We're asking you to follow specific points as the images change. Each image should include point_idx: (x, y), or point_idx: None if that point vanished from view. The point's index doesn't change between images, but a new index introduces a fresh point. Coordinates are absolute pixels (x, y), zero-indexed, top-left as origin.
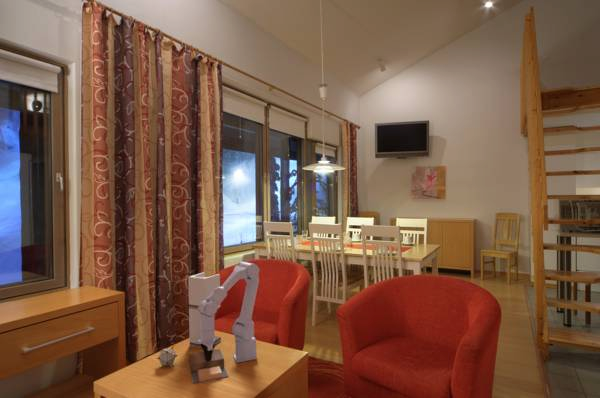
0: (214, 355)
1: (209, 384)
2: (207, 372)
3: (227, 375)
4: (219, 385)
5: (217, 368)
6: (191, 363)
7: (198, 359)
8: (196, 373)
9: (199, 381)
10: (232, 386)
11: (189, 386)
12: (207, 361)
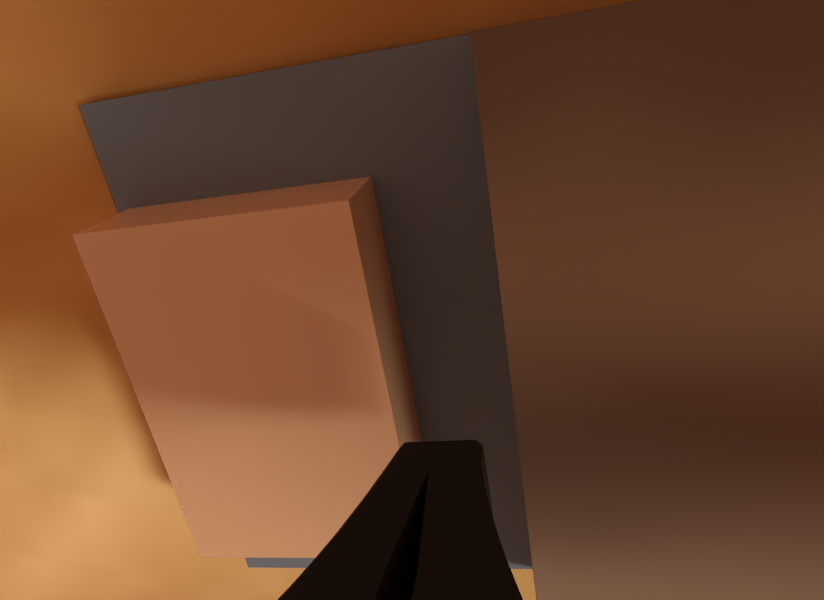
0: (800, 597)
1: (76, 340)
2: (219, 373)
3: (268, 563)
4: (54, 448)
5: (342, 524)
6: (544, 40)
7: (750, 247)
8: (435, 147)
9: (131, 206)
10: (37, 559)
11: (9, 33)
12: (519, 445)
